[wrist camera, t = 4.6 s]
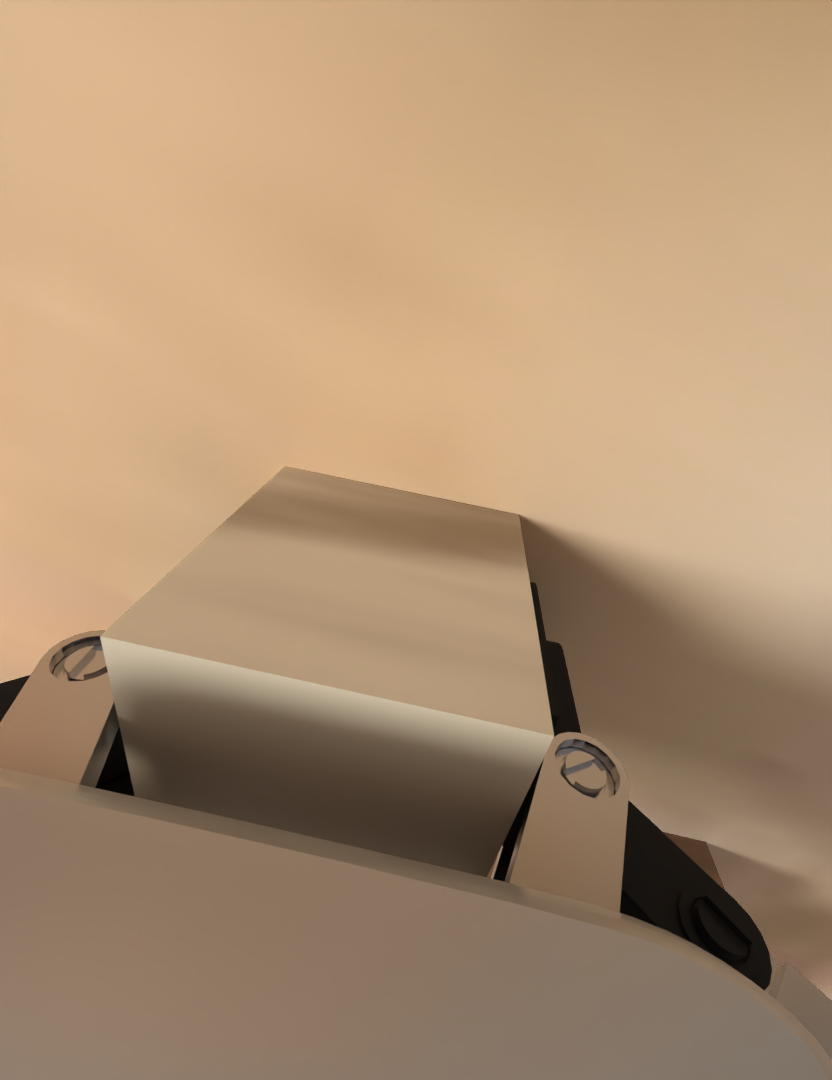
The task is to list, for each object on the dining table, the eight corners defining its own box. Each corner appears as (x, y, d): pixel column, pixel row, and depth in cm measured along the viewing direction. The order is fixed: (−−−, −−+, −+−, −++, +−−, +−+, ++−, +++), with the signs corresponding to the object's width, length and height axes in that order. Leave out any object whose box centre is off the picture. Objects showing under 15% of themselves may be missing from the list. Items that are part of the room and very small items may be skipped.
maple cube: (284, 466, 11) (100, 636, 6) (519, 515, 11) (553, 736, 5) (279, 644, 14) (151, 870, 8) (466, 684, 13) (455, 941, 8)
